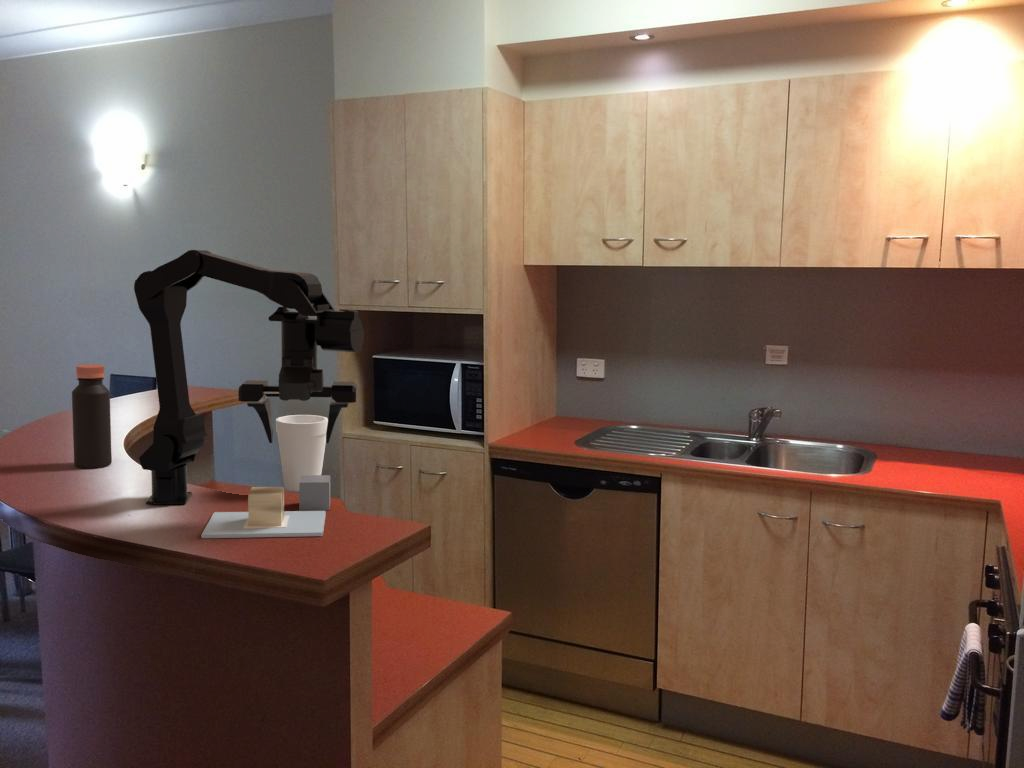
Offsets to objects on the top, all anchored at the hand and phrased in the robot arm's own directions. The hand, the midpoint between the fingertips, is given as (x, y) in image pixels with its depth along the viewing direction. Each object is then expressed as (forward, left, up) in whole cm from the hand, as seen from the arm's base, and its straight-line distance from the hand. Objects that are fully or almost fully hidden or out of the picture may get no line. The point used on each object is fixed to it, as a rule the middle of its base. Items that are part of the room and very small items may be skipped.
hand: (299, 442), depth 147 cm
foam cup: (-17, -1, -12) cm, 21 cm away
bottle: (-36, -43, -12) cm, 57 cm away
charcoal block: (-4, +2, -12) cm, 13 cm away
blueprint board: (+7, -5, -12) cm, 15 cm away
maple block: (+7, -5, -11) cm, 14 cm away
